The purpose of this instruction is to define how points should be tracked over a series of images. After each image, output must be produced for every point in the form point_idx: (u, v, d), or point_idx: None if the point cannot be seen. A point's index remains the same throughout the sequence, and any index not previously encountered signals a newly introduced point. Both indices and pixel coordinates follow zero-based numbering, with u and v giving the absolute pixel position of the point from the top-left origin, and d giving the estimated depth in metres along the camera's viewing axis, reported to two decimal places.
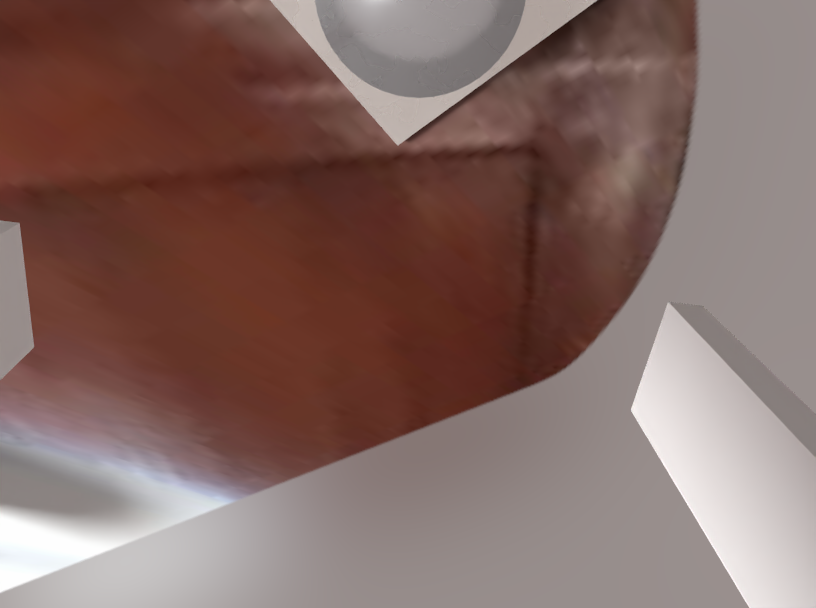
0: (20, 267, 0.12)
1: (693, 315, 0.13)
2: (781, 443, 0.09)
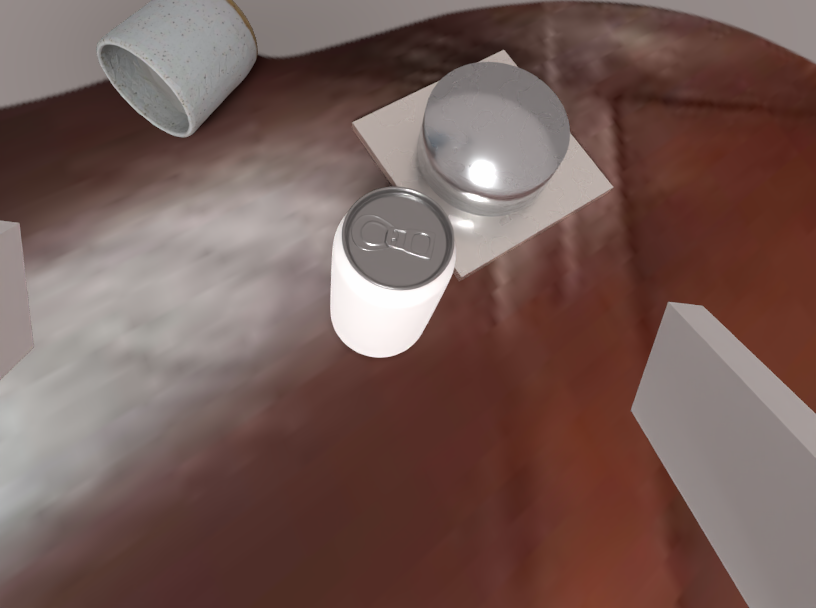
0: (20, 267, 0.12)
1: (693, 315, 0.13)
2: (781, 443, 0.09)
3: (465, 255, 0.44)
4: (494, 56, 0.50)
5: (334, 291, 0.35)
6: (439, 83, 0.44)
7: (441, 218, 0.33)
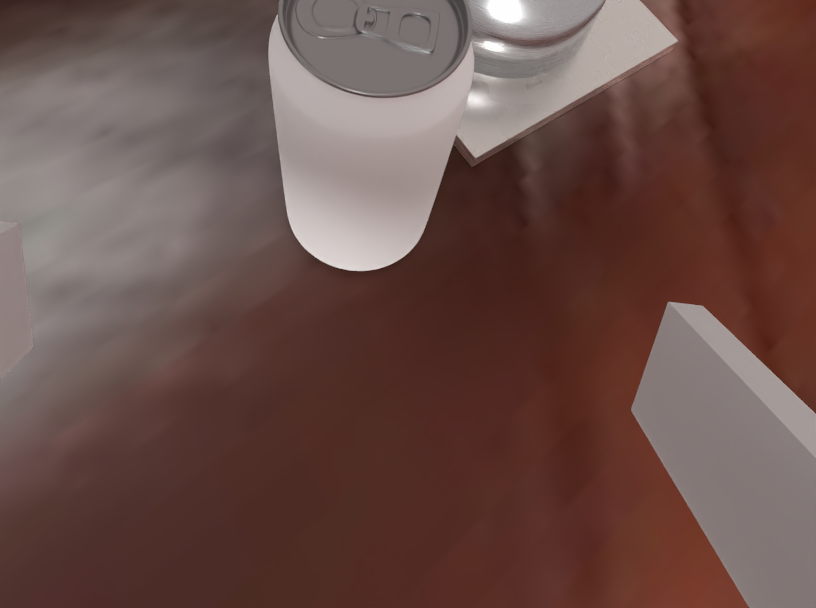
0: (20, 267, 0.12)
1: (693, 315, 0.13)
2: (781, 443, 0.09)
3: (479, 128, 0.31)
4: None
5: (280, 144, 0.22)
6: None
7: None
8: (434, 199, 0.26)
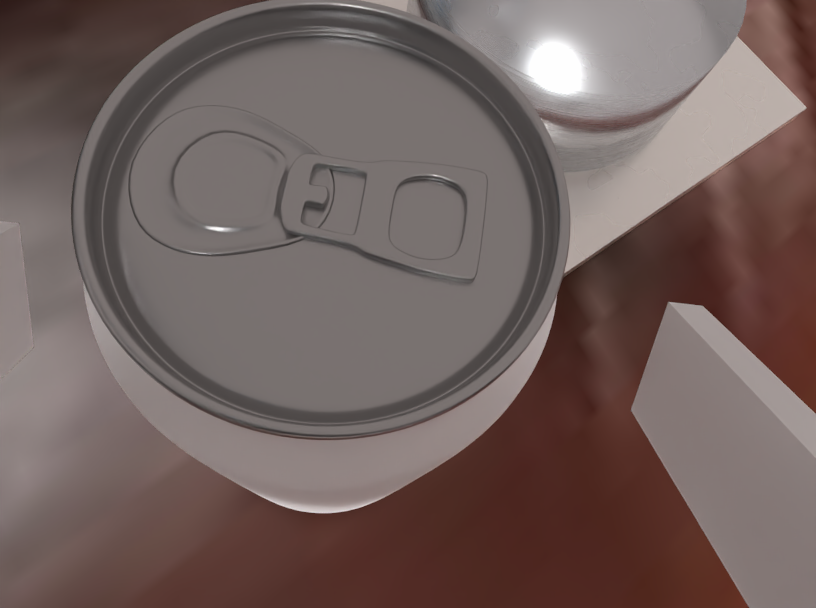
0: (20, 267, 0.12)
1: (693, 315, 0.13)
2: (781, 443, 0.09)
3: None
4: None
5: None
6: None
7: (506, 118, 0.08)
8: None
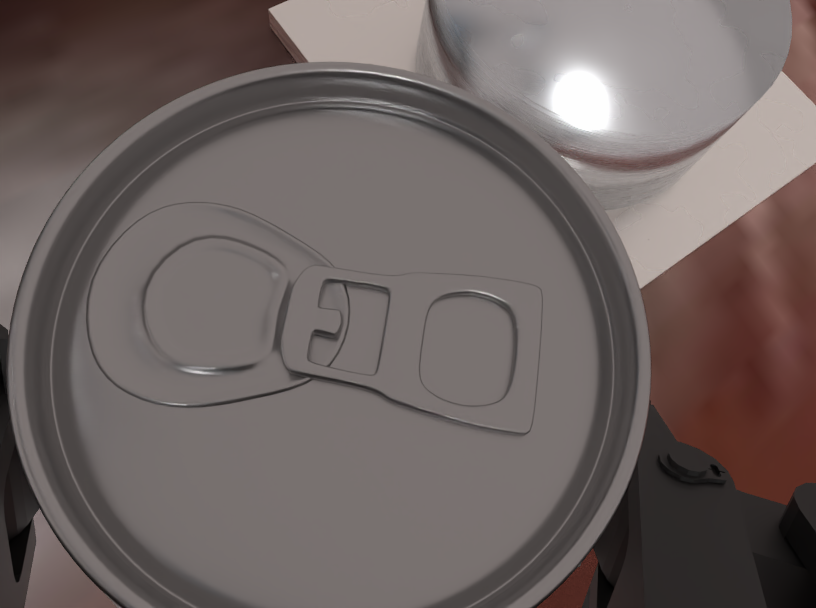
0: None
1: None
2: None
3: None
4: None
5: None
6: None
7: (561, 210, 0.07)
8: None
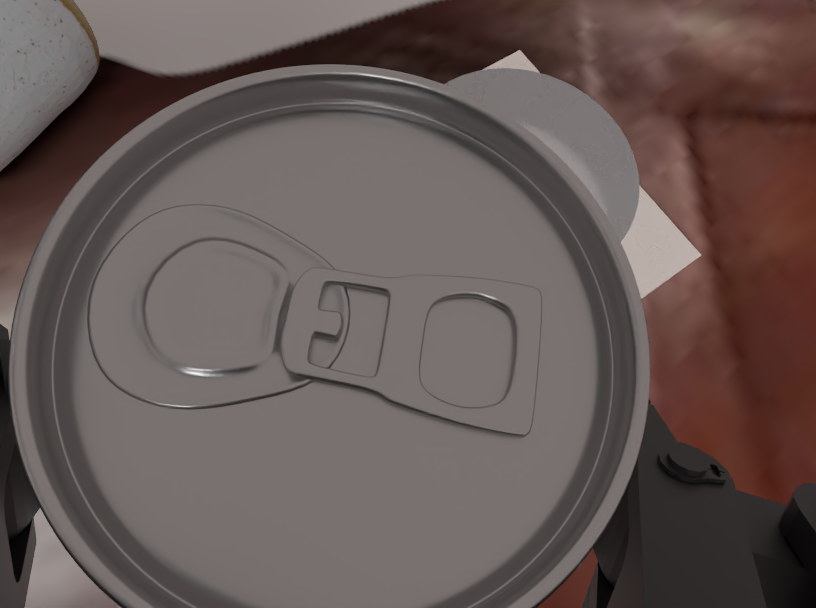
0: None
1: None
2: None
3: None
4: (506, 60, 0.33)
5: None
6: None
7: (560, 212, 0.07)
8: None
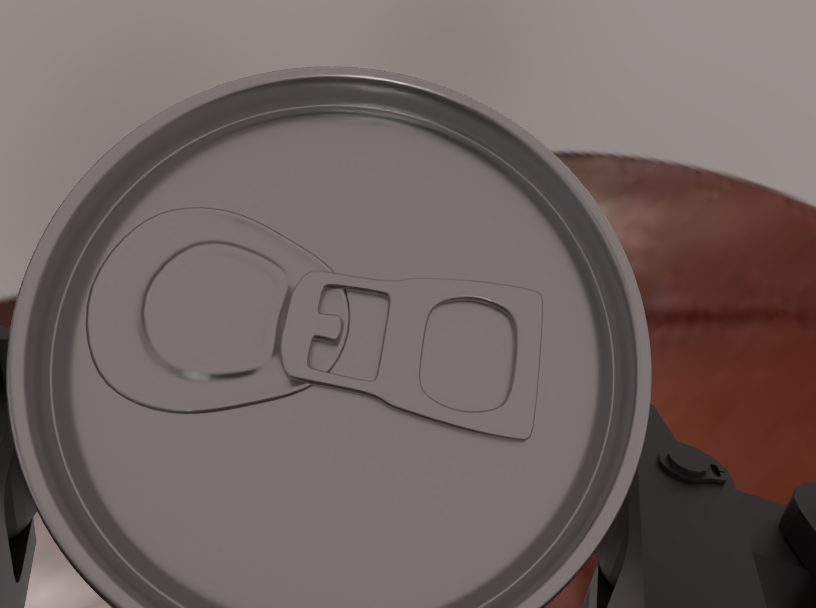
0: None
1: None
2: None
3: None
4: None
5: None
6: None
7: (561, 216, 0.07)
8: None
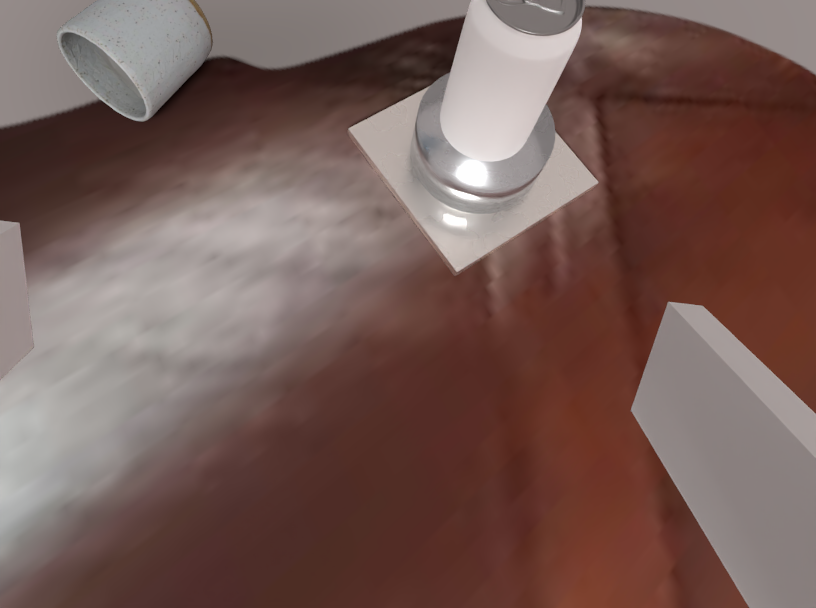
0: (20, 267, 0.12)
1: (693, 315, 0.13)
2: (781, 443, 0.09)
3: (459, 251, 0.46)
4: None
5: (462, 70, 0.38)
6: (429, 89, 0.46)
7: None
8: None
